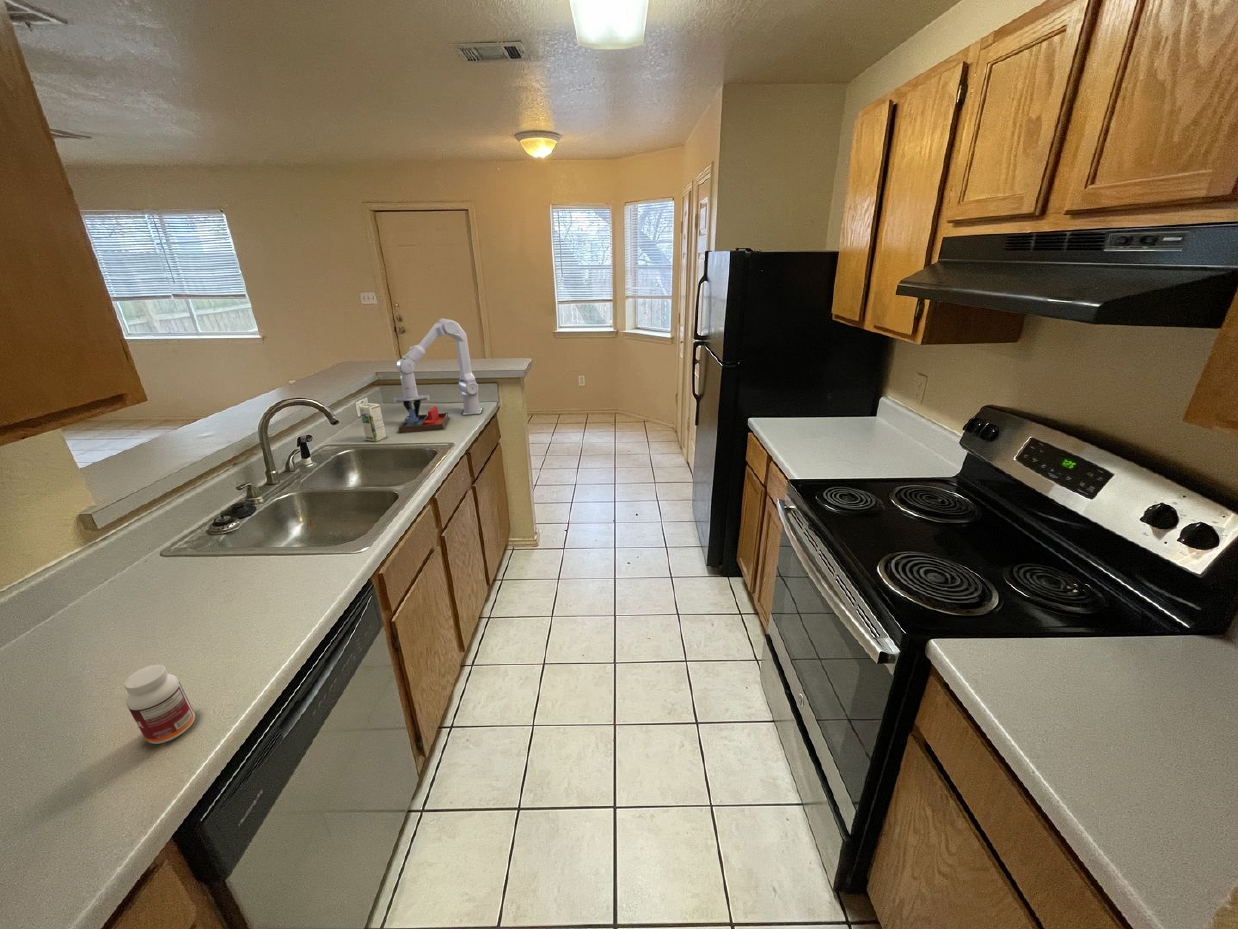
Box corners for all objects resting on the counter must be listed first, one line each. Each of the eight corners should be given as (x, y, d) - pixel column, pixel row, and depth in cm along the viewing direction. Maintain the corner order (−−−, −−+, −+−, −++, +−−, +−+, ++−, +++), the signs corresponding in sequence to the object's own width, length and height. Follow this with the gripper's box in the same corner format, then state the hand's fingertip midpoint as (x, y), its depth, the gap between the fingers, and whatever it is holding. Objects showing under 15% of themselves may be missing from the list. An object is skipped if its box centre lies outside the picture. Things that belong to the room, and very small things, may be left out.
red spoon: (432, 417, 232) (430, 406, 229) (442, 417, 232) (440, 405, 230) (423, 426, 220) (421, 414, 218) (433, 426, 220) (431, 414, 218)
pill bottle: (149, 724, 81) (121, 672, 77) (197, 705, 84) (173, 654, 80) (143, 753, 76) (113, 699, 72) (194, 732, 79) (168, 679, 75)
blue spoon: (411, 421, 227) (410, 409, 226) (422, 420, 228) (420, 408, 227) (404, 422, 215) (402, 409, 214) (415, 422, 215) (413, 408, 214)
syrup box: (365, 440, 207) (357, 406, 202) (376, 435, 212) (369, 402, 207) (376, 441, 205) (368, 407, 200) (387, 437, 210) (379, 403, 205)
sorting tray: (408, 421, 231) (407, 415, 230) (448, 417, 233) (447, 412, 232) (399, 432, 215) (398, 427, 214) (443, 429, 218) (442, 423, 217)
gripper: (389, 390, 215) (395, 420, 220) (425, 388, 217) (430, 418, 222) (393, 386, 221) (399, 416, 227) (427, 384, 224) (433, 413, 229)
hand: (415, 417), depth 225 cm, fingers closed on blue spoon, 2 cm apart
